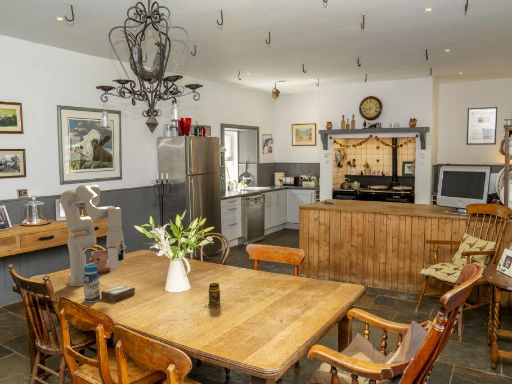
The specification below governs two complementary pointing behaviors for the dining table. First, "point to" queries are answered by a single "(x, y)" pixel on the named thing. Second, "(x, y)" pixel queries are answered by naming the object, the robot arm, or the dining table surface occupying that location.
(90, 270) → the beverage bottle
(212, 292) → the condiment
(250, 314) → the dining table surface
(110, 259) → the mug
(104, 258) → the ceramic jug
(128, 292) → the walnut picture frame
